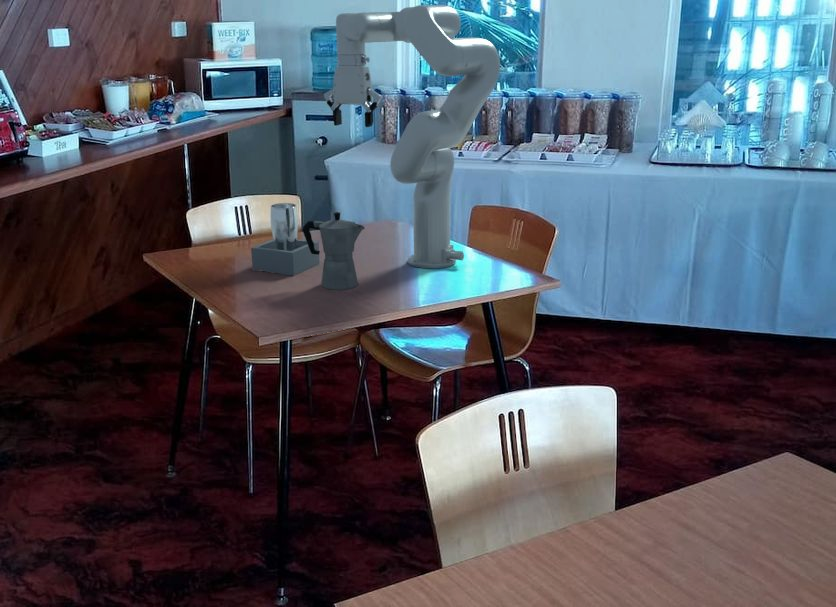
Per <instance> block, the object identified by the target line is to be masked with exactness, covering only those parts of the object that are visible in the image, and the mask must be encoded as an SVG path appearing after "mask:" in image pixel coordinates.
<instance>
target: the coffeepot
mask: <svg viewBox="0 0 836 607" xmlns="http://www.w3.org/2000/svg"><path fill="white" fill-rule="evenodd" d="M333 216H334V219H331V220H327V221H325V222H324V221H322V220H321V221H319V220H318V221H317V220H315V221H314V220H308V221H307V222H306V223H305V224H304V225H303V226H302V233H303V235H304V237H305V238H304V239H305V240H306V241H307V244H308V246H309V249H310V252H311V253H312V254H317V255H318V254H319V255H320V253H321V251H320V250H319V251H317V250H315V248H314V242H313V241H314V240H313V238H312V233H311V231H310V230H311V229H314V230H317V231H319V233H320V238H321V244H322V248H323V253H324V259H323V267H322V276H321V287H322V288H324V289H327V290H332V291H344V290H350V289H354V288H356V287H357V286H358V285H359V284H358V283H359V282H358V278H357V272H356V267H355V262H354V258H353V256H354V255H353V252H354V251H355V243H356V240H357V239H358V237H359V236H360V234H361V233H362V231H363V230H365V226H364V225H362V224H357V223H356V222H355V221H350V220H344V219H341V212H338V211H336V212H333Z"/></svg>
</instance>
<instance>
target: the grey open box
mask: <svg viewBox="0 0 836 607" xmlns="http://www.w3.org/2000/svg"><path fill="white" fill-rule="evenodd" d="M313 242H314V248H315V250H317V251H320V243H319V242H320V241H317V240H313ZM250 250H251V252H250V253H251V265H252V266H251V267H252V270H253V269H254V270H262V271H267V272H266V273H268V272H273V273H272V274H276V273H279V274H278V275H284V274H285V275H284V276H291V275H293V277H294V275H295V276H296V275H299V274H302V273H303V272H305V271H307V270H310V269H312V268H313V267H315V266H318V265H319V264H320V253H319V254H318V255H317V254H312V253H311V252H310V249H309V246H308V244H307V241H306V239H301V238H300V239H298V238H297V241H296V249H295V250H293V251H286V250H277V249H276V248H275V243H274V238H272V239H269V240H267V241H265V242H263V243H260V244H257V245H255V246H251V247H250Z"/></svg>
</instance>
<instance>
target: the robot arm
mask: <svg viewBox="0 0 836 607" xmlns="http://www.w3.org/2000/svg"><path fill="white" fill-rule="evenodd" d="M461 20H462V19H461V17H460V14H459V12H457V10H455V9H454V8H453V7H451V6H449V5H446V4H428V5H427V4H419V5H415V6H411V7H410V6H408V7H403V8H402V9H401V10H400V11H388V12H387V11H375V12H373V11H372V12H371V11H370V12H356V13H355V12H354V13H353V12H352V13H351V12H350V13H343V12H342V13H339V14H338V15H337V16H336V19H335V31H336V56H337V57H336V58H337V61H336V62H337V66H336V67H335V69H334V75H333V86H332V87H333V88H332V89H330V90H328V91H327V92H325V93H324V94H323V97H324V99H325V101H326V104H327V105H328V106H329V108H330V111H332V121H333V126H340V125H342V124H343V122H342V121H343V120H342V118H343V117H342V115H343V114H342V110H341V109H340V108H341V107H342V106H343V105H352V106H353V105H355V106H362V107H363V108H364V109H365V112H364V126H365V128H371V127H373V124H374V112H375V111H376V109H377V108H378V107H379V106H380V102H381V100H382V98H383V96H382V95H381V94H379V93H378V92H376V91H374V89H373V85H372V84H373V83H372V77H371V72H370V67H369V66H366V65H367V63H370V57H367V55H366V43H371V44H372V43H385V42H388V43H389V42H404V43H407V44H412V46H413V47H414V48H415V49H416V51H417V52H418V53H419V55H420V56H421V57H422V58H423V59H424V61H425V62H426V63H427V64H428V66H429V67H430V68H431V69H432V70H433V71H434V72H435V73H437V74H438V75H441V76H443V77H456V76H463V77H462V78H461V79H460V81H458V82H457V83H456V84H455V85H454V86H453V88H452V89H451V90H450V91H449V93H448V95H447V97H446V99H445V101H444V102H443V103H442V105H441V107H439V108H437V109H433V110H426V111H421V112H419V113H416V114H415V115H414V116H412V118H411V119H410V120H409V122H408V123H407V125H406V127H405V128H404V130H403V132H402V134H401V136H400V138H399V140H398V142H397V144H396V146H395V148H394V150H393V152H392V155H391V157H390V162H389V163H390V166H389V167H390V172H391V175H392V177H393V178H394V180H396V181H397V182H399V183H401V184H404V185H410V184H411V185H412V184H416V185H415V188H414V192H413V197H412V198H413V199H412V200H413V202H412V203H413V205H412V206H413V208H412V209H413V221H412V222H413V223H412V224H413V254H411V255H409V256H408V258H407V262H408V264H409V265H410V266H413V267H417V268H421V269H441V268H447V267H451V266H453V265H454V264H456V260H457V261H463V260H464V257H465V254H464V252H463V250H462V251H461V250H455V249H454V244H451V240H450V239H451V188H452V187H451V186H452V179H453V175H454V174H453V173H454V167H455V155H454V153H453V150H452V149H451V148H454V147H456V146H458V145H460V144H461V143H462V142H463V141H464V139H465V138H466V136H467V135H468V132H469V130H470V129H471V127H472V125H473V123H474V121H476V119H477V116H478V115H479V114H480V111H481V110H482V107H483V106H484V105H485V103H486V102H487V100H488V98H489V97H490V96H491V94H492V92H493V91H494V89H495V87H496V84H497V83H498V80H499V76H500V70H501V62H500V56H499V53H498V50H497V48H496V47H495V44H493V43H492V42H491V41H489V40H488V39H486V38H481V37H472V36H471V37H456V36H457V35H458V33H459V32H460V30H461V25H462V22H461ZM332 96H333V98H332ZM373 99H374V100H373Z"/></svg>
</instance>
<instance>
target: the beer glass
mask: <svg viewBox="0 0 836 607" xmlns="http://www.w3.org/2000/svg"><path fill="white" fill-rule="evenodd" d="M269 216H270V217H269V218H270V228H271V233H272V234H271V235H272V239H274V243H275V248H276V249H277V250H286V251H293V250H295V249H296V241H297V239H298V232H299V219H298V218H299V217H298V209H297V204H295V203H292V202H279V203H274V204H271V205H270V215H269Z"/></svg>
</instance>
